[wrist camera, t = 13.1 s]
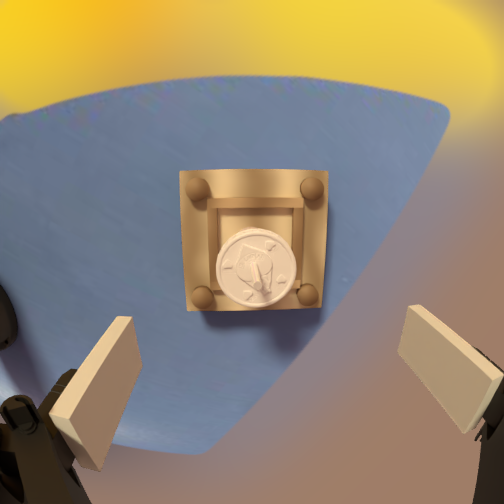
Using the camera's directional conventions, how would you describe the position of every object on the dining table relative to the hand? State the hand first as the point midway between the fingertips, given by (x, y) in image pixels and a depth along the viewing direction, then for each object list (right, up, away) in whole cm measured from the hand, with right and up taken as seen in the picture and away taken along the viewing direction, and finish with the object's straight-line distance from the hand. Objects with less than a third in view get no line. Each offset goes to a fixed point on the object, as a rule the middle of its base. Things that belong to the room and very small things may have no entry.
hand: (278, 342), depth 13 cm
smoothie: (-1, +5, +20) cm, 20 cm away
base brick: (-1, +6, +24) cm, 25 cm away
